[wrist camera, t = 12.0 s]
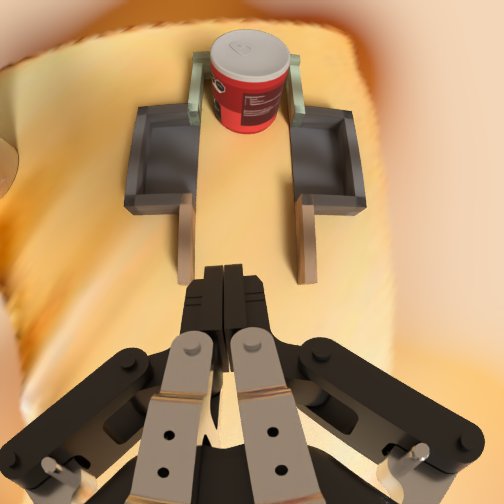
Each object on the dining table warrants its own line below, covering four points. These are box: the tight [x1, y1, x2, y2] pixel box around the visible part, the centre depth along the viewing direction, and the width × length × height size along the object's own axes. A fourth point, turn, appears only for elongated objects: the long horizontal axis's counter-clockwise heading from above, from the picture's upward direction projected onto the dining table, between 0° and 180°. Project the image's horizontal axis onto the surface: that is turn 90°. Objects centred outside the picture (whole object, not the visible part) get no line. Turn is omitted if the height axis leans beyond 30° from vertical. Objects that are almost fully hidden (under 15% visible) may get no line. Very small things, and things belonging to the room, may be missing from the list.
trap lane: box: [124, 52, 367, 286], centre depth 32 cm, size 28×25×4 cm
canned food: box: [210, 29, 290, 134], centre depth 30 cm, size 8×8×11 cm
